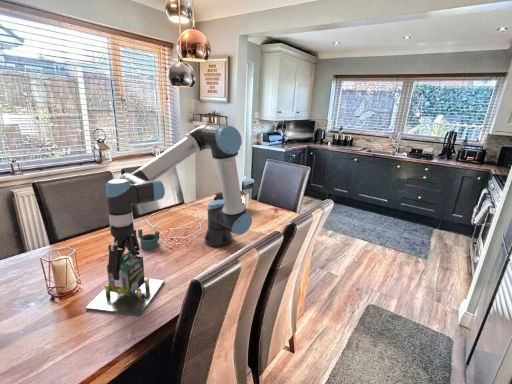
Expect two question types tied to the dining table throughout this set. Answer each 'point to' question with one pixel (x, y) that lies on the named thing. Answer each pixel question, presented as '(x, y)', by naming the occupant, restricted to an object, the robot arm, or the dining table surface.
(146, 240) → the green pot
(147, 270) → the dining table surface
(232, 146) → the robot arm
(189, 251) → the dining table surface
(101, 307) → the plate
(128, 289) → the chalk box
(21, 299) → the dining table surface
